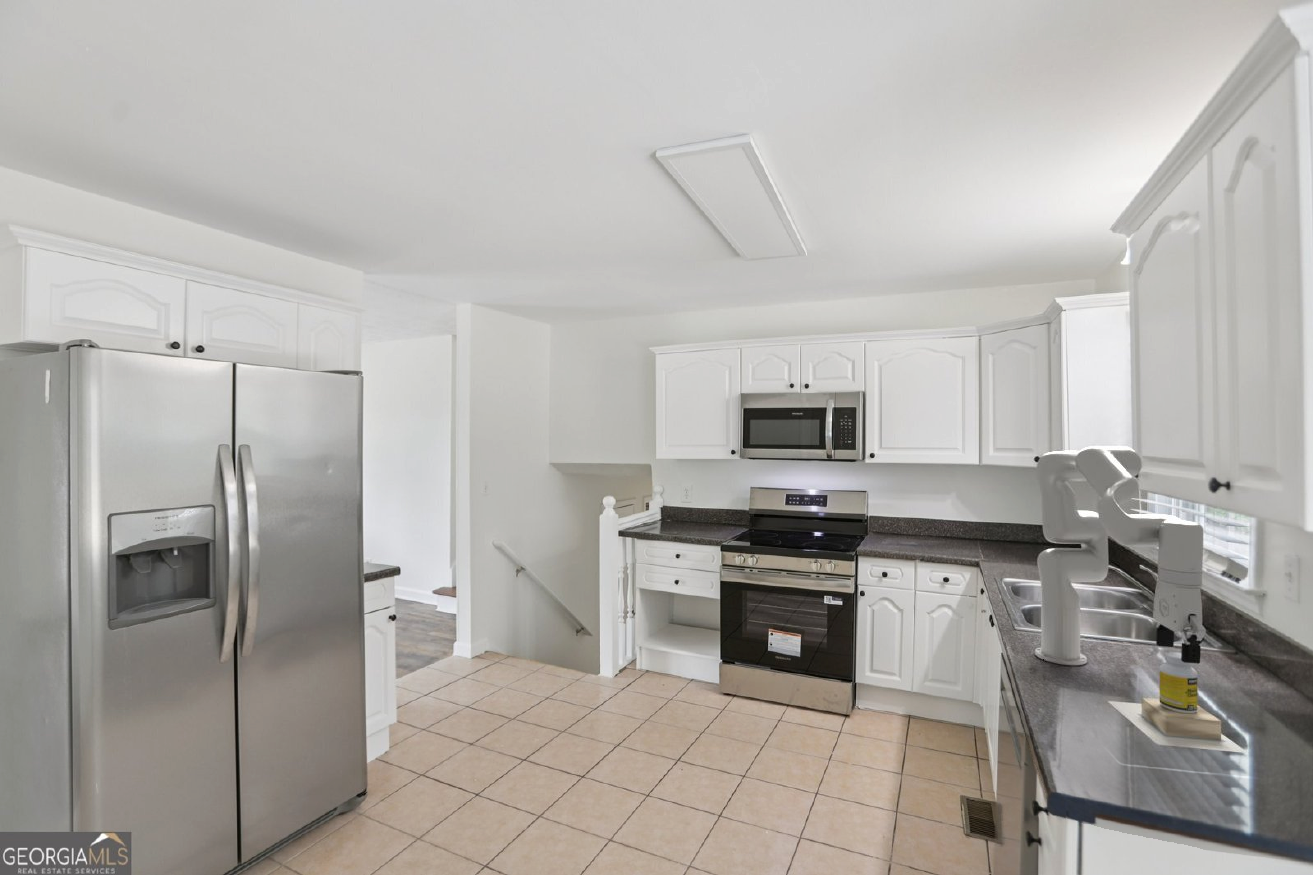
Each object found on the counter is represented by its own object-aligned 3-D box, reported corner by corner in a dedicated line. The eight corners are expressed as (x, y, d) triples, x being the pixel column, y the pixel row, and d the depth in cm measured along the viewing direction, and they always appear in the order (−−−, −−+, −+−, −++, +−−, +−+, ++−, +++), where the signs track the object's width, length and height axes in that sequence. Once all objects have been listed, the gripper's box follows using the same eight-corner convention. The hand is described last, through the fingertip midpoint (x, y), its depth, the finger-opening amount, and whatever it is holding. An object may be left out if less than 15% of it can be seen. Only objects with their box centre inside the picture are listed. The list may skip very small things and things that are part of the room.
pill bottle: (1183, 716, 135) (1183, 661, 135) (1152, 703, 141) (1152, 651, 141) (1205, 712, 137) (1205, 659, 137) (1173, 700, 143) (1173, 649, 143)
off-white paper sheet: (1107, 702, 152) (1107, 700, 152) (1184, 708, 149) (1184, 707, 149) (1157, 746, 131) (1157, 744, 131) (1248, 754, 127) (1248, 753, 127)
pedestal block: (1141, 715, 145) (1141, 697, 145) (1192, 719, 142) (1192, 701, 142) (1166, 735, 135) (1166, 716, 135) (1221, 740, 133) (1221, 721, 133)
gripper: (1139, 566, 148) (1137, 639, 149) (1182, 586, 131) (1180, 668, 132) (1176, 568, 146) (1174, 641, 147) (1225, 588, 129) (1222, 671, 130)
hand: (1177, 654), depth 139 cm, fingers open, 9 cm apart
